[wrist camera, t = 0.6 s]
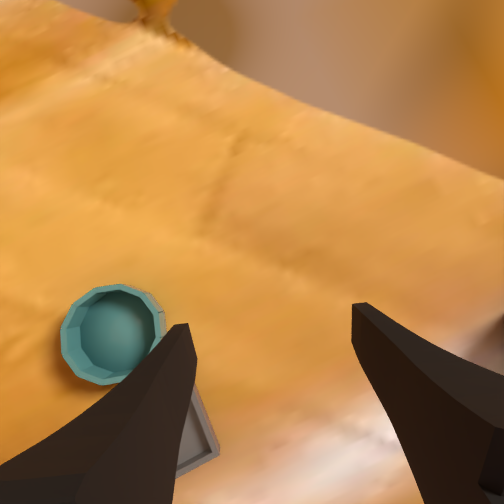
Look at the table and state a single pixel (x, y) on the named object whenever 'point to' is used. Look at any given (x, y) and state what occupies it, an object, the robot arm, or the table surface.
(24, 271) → the table surface
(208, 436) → the parts tray
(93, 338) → the bowl
